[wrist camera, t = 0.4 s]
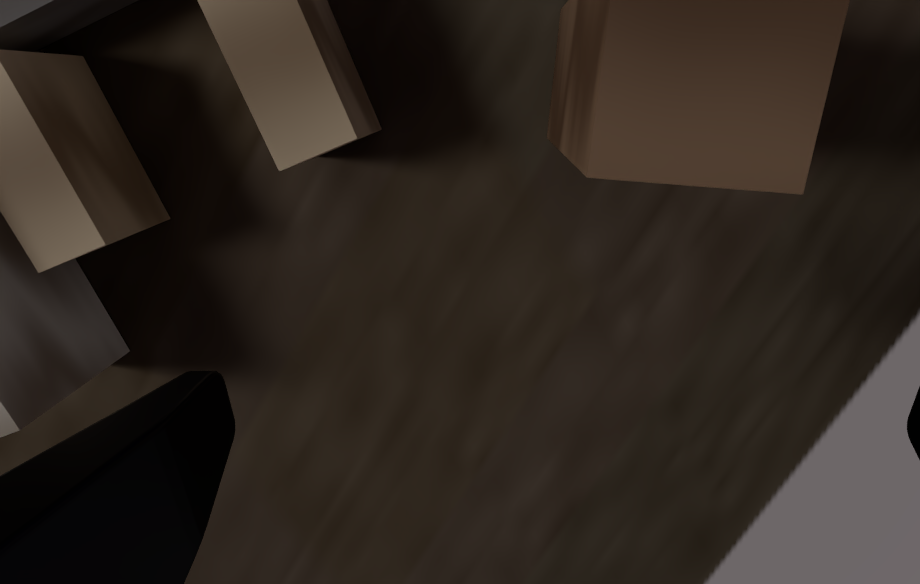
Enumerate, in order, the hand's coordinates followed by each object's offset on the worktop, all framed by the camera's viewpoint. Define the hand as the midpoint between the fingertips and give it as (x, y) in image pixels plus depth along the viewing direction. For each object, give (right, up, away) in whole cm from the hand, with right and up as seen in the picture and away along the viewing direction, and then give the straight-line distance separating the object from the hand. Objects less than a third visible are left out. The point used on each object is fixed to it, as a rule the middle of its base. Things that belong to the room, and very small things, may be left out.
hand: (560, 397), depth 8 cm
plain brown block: (+4, +8, +12) cm, 15 cm away
